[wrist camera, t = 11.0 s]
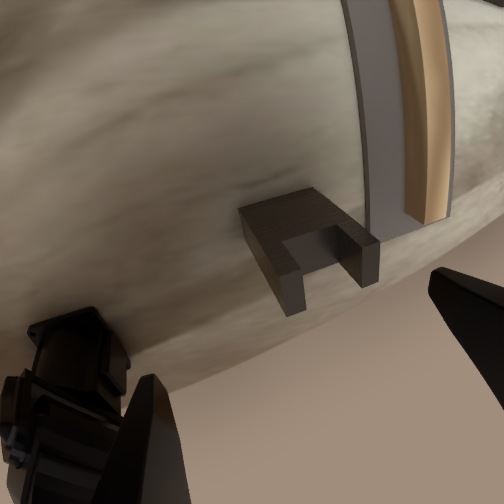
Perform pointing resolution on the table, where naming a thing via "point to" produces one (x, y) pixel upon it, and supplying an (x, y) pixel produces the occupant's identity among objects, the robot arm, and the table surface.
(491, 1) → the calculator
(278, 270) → the bracket
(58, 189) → the table surface
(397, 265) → the table surface
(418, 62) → the beech rail
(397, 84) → the rubber mat
